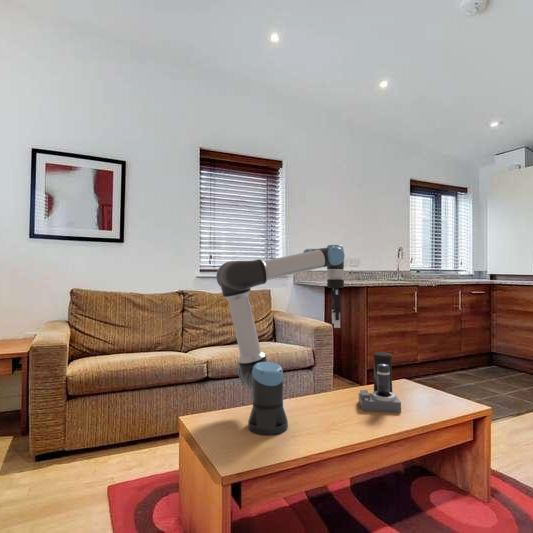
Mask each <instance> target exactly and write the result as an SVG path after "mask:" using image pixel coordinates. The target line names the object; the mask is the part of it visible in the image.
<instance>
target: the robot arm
mask: <svg viewBox="0 0 533 533" xmlns="http://www.w3.org/2000/svg"><path fill="white" fill-rule="evenodd" d="M344 251H345V250H344V246H343V245H341V244H328V245H327V246H326V247H323V248H306V249H304V250H303V252H302V253H295V254H291V255H287V256H282V257H278V258H272V259H268V260H267V259H266V260H262V259H255V260H231V261H227V262H224V263H223V264H221V265H220V266H219V267H218V269H217V271H216V276H215V277H216V281H217V284H218V286H219V287H220V289H221V293H222V296H223V299H226V300H227V302H228V307H229V311H230V315H231V319H232V320H231V321H232V324H233V327H234V333H235V337H236V341H237V344H238V345H237V346H238V349H239V355H240V356H239V357H238V360H237V361H238V373H237V374H238V377H239V379H240V381H241V383H242V384H243V385H244V386H246V387H247V388H248V389H250V391H251V392H252V408H251V412H250V415H249V419H248V423H247V425H248V427H247V429H248V430H249V431H251V432H252V433H254V434H257V435H263V436H265V435H266V436H272V435H278V434H283V433H284V432H285V431H287V430H288V427H289V423H288V417H287V414H286V411H285V408H284V373H283V372H284V371H283V370H284V369H283V368H282V366H281V365H280V364H279V363H275V362H272V361H268V360H267V356H266V353H265V352H264V351H262V350H261V347H260V342H259V337H258V333H257V328H256V324H255V318H254V314H253V311H252V305H251V302H250V298H249V295H250V293H251V291H252V290H251V288H254V287H257V286H261V285H266V283H268V281H271V280H275V279H279V278H283V277H286V276H291V275H295V274H296V275H297V274H300V273H305V272H309V271H313V270H317V269H321V268H326V278H327V282H326V285H327V288H331V291H330V295H331V307H330V308H331V325H332V324H333V328H334V329H337V328H338V329H341V312H342V311H341V290H340V289H339V288H344V287H345V279H344V278H345V274H346V271H345V265H344V264H345V252H344Z"/></svg>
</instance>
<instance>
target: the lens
mask: <svg viewBox="0 0 533 533" xmlns="http://www.w3.org/2000/svg"><path fill="white" fill-rule="evenodd" d="M377 374H378V396H382V397H389V396H390V378H389V374H390V371H389V365H387V364H378V365H377Z"/></svg>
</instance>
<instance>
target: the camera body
mask: <svg viewBox="0 0 533 533" xmlns="http://www.w3.org/2000/svg"><path fill="white" fill-rule="evenodd" d="M359 391H360V392H358V404H359V406H360V409H361V411H363V412H383V413H384V412H390V413H391V412H392V413H402V402H401V401H400V399H399V397H398V396H397V395H396V394H395V393H393V392H392V393H391V392H390V396H389V397H382V396H378V391H374V390H373V392H370V393H369V391H368V390H367V389H360V390H359Z"/></svg>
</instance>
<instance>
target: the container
mask: <svg viewBox="0 0 533 533" xmlns="http://www.w3.org/2000/svg"><path fill="white" fill-rule="evenodd" d="M372 357H373V392H374V391H378V374H377V365H378V364H387V365H389V371H390V374H389V378H390V392H391V393H393V377H392V376H393V375H392V370H393V369H392V358H393V355H392V354H391V353H390V352H386V351H385V352H382V351H380V352H374V353H373V354H372Z"/></svg>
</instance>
